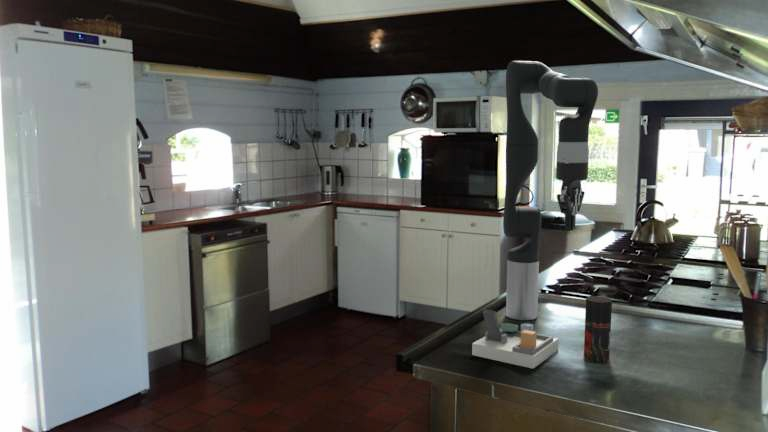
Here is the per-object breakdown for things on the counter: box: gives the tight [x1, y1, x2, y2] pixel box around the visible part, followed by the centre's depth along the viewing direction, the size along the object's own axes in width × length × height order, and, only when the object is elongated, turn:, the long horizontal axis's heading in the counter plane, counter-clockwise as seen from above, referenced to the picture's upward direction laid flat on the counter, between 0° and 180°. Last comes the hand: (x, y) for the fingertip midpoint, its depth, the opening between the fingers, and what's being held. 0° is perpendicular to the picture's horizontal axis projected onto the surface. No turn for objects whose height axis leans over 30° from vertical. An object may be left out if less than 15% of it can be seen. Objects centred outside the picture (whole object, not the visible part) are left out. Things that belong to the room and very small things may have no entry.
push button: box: [519, 322, 534, 334], centre depth 164 cm, size 3×3×2 cm
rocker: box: [500, 322, 519, 332], centre depth 166 cm, size 4×3×2 cm
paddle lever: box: [482, 308, 501, 342], centre depth 157 cm, size 1×3×9 cm, turn 54°
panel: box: [471, 327, 559, 370], centre depth 160 cm, size 16×16×5 cm
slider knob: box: [520, 330, 538, 350], centre depth 153 cm, size 2×3×4 cm
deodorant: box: [583, 295, 613, 365], centre depth 154 cm, size 6×6×15 cm
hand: (569, 229), depth 160 cm, fingers closed
